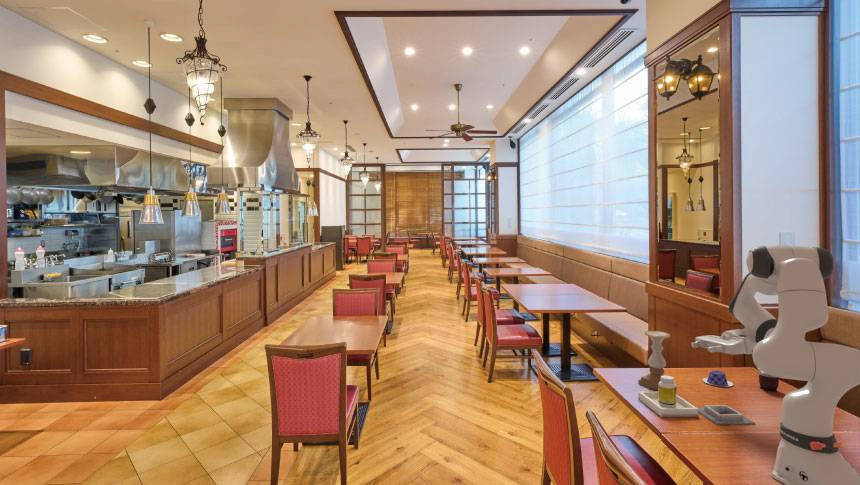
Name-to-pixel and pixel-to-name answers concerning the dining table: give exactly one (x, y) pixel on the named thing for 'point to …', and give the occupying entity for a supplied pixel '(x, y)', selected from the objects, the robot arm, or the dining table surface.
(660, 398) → the pill bottle
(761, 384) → the mate gourd
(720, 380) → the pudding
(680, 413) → the tray
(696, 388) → the dining table surface
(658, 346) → the candle holder
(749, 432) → the dining table surface
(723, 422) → the steel collar
